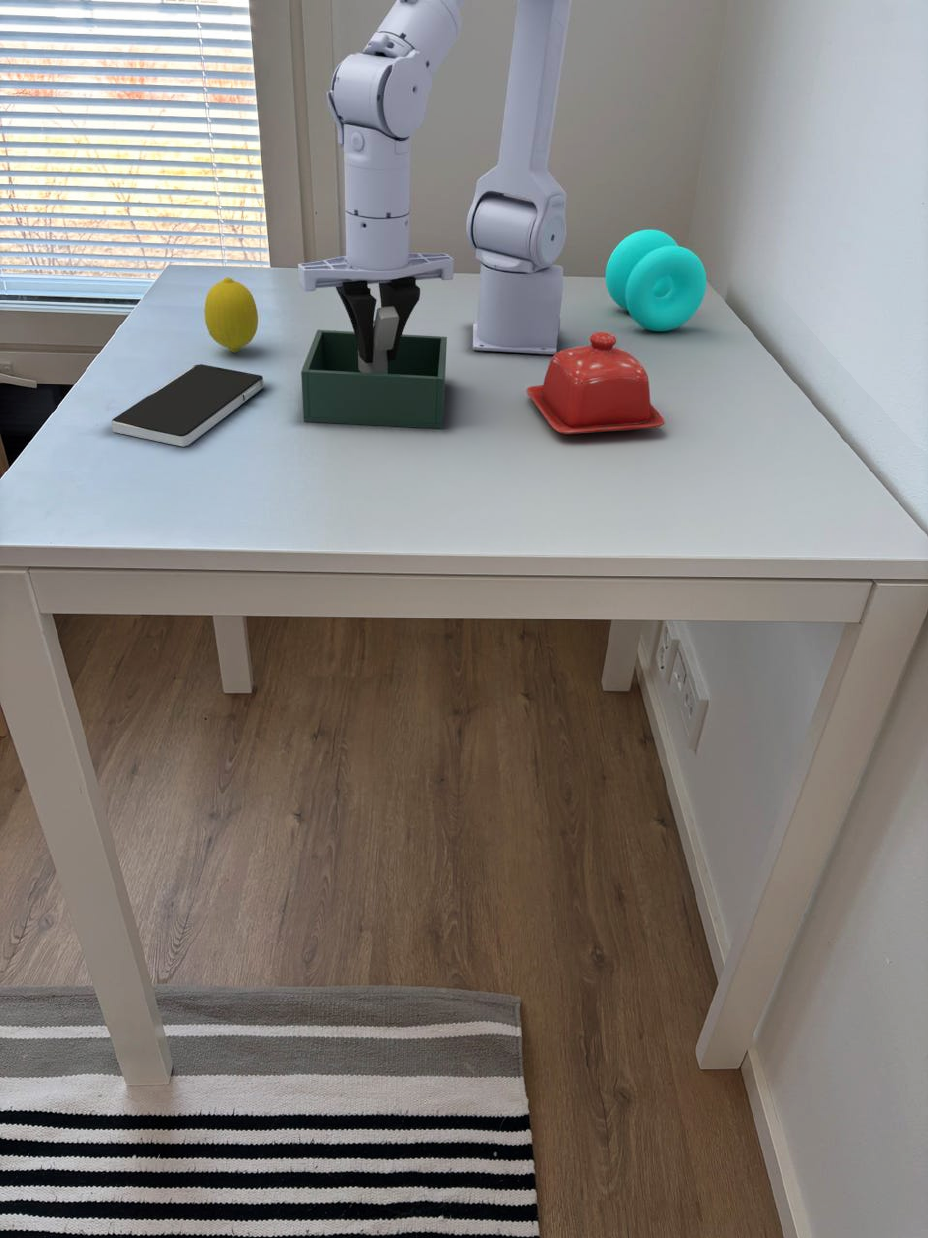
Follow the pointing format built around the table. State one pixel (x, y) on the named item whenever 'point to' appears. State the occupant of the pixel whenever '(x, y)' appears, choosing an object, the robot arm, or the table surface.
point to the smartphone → (188, 405)
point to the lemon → (231, 314)
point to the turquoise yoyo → (655, 280)
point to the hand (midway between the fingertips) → (377, 358)
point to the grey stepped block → (381, 340)
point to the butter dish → (595, 390)
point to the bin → (374, 383)
